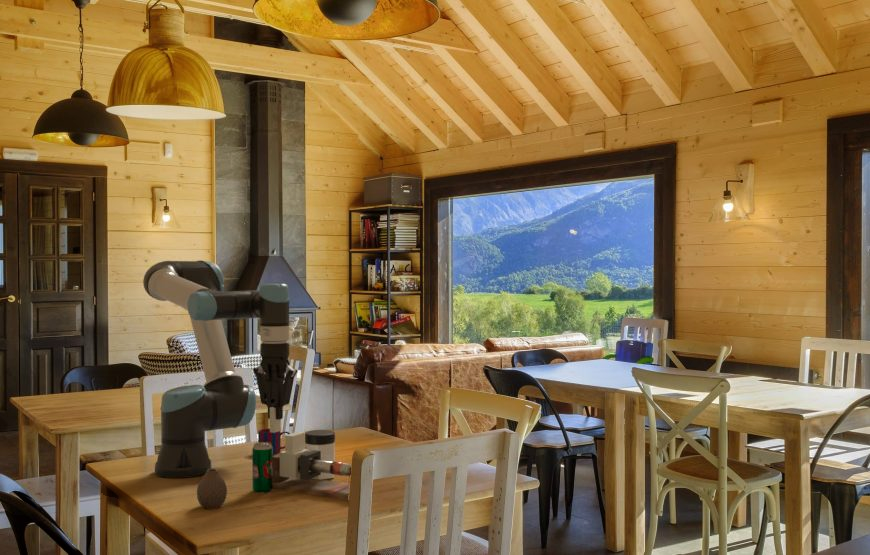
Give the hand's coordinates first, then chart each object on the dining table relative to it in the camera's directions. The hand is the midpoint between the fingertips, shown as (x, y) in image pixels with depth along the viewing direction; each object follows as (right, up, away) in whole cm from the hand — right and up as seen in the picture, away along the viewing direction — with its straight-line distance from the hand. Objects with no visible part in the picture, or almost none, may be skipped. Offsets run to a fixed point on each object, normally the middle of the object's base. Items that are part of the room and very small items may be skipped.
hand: (275, 431), depth 224 cm
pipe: (+12, -9, -6) cm, 17 cm away
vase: (-11, -14, -22) cm, 28 cm away
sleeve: (+6, -11, -3) cm, 12 cm away
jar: (+11, -14, +7) cm, 19 cm away
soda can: (-2, -14, -8) cm, 16 cm away
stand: (+12, -14, -6) cm, 19 cm away
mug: (-7, -13, +37) cm, 40 cm away
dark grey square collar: (+10, -11, -5) cm, 16 cm away
